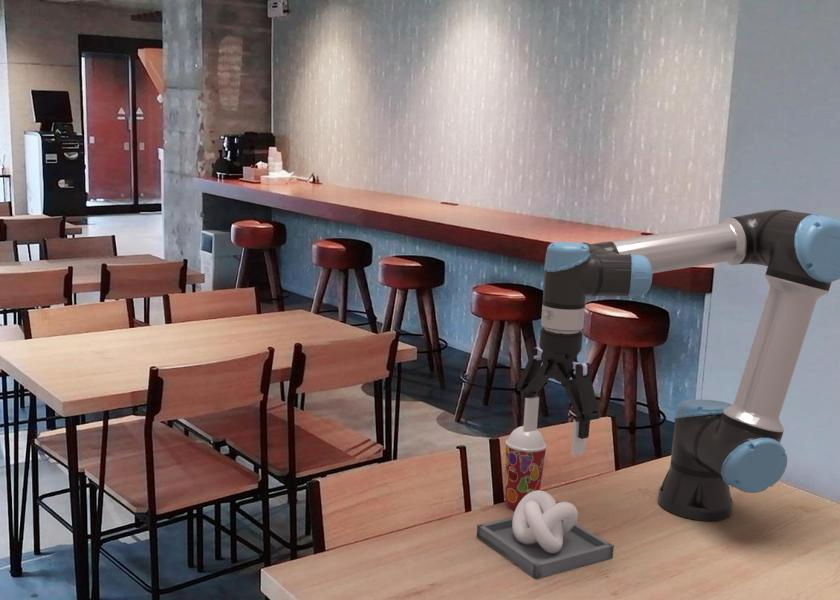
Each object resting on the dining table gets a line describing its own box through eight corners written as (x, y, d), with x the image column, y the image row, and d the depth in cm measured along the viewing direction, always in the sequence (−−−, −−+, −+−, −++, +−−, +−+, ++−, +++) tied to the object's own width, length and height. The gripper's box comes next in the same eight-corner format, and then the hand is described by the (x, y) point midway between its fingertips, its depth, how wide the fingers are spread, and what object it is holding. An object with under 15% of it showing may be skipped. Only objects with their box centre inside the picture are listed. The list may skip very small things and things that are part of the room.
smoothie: (538, 498, 192) (545, 408, 188) (544, 515, 184) (552, 421, 180) (498, 497, 192) (505, 406, 188) (503, 513, 183) (510, 419, 180)
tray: (549, 520, 181) (550, 508, 181) (612, 558, 166) (613, 545, 166) (476, 537, 172) (477, 525, 172) (536, 579, 157) (537, 566, 157)
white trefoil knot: (559, 527, 176) (563, 483, 174) (588, 555, 165) (592, 509, 163) (505, 532, 173) (509, 487, 171) (531, 561, 161) (535, 514, 160)
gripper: (502, 316, 170) (496, 424, 174) (593, 346, 149) (583, 468, 153) (534, 313, 174) (526, 419, 178) (626, 342, 153) (616, 461, 157)
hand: (553, 442), depth 165 cm, fingers open, 13 cm apart
